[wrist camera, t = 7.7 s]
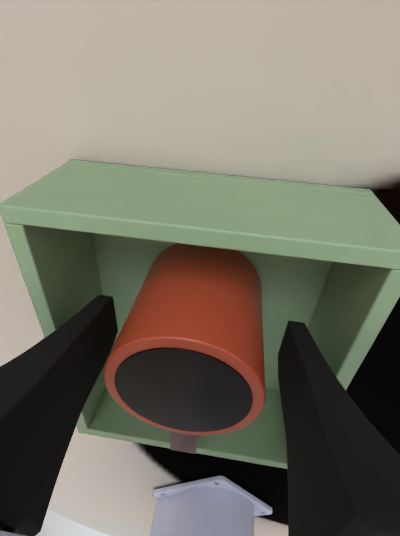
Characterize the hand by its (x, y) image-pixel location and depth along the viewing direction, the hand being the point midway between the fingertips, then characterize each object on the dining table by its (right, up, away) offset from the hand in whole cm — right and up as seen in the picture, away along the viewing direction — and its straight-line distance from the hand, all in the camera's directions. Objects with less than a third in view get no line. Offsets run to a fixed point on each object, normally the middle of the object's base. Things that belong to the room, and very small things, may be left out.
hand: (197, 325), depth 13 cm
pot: (0, 0, +3) cm, 3 cm away
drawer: (0, +1, +3) cm, 3 cm away
